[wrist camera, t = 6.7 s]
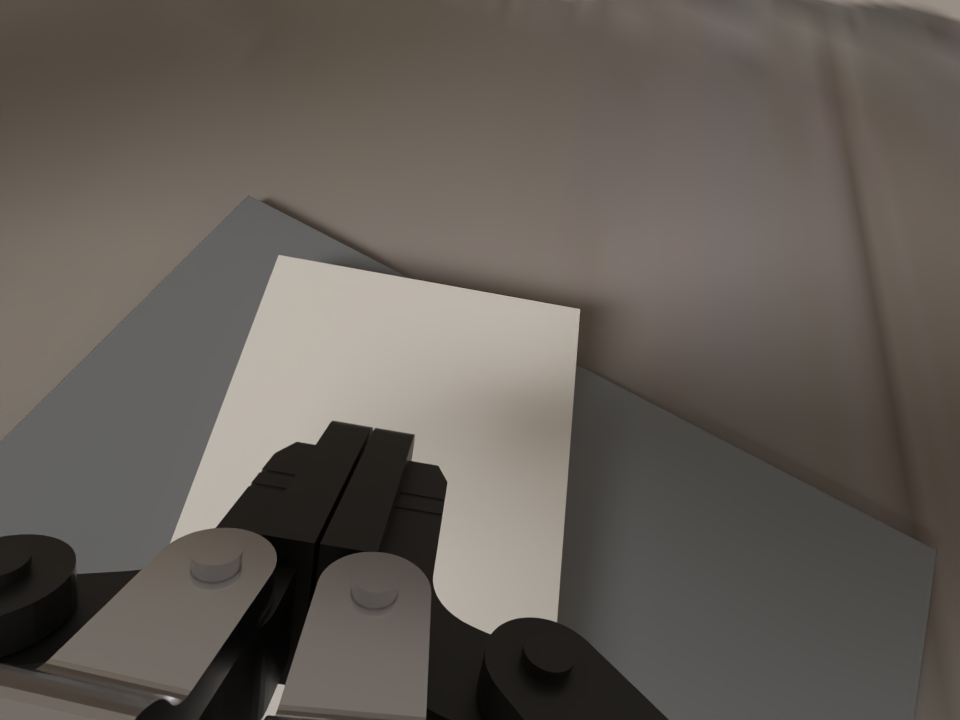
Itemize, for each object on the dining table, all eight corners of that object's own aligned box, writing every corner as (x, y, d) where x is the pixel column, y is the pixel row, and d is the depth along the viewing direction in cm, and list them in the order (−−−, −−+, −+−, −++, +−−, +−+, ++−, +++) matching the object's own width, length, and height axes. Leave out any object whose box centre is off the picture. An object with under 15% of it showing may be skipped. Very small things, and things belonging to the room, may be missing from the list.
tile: (543, 804, 12) (580, 309, 17) (97, 736, 12) (278, 254, 17) (529, 788, 13) (567, 335, 19) (131, 727, 13) (288, 285, 19)
